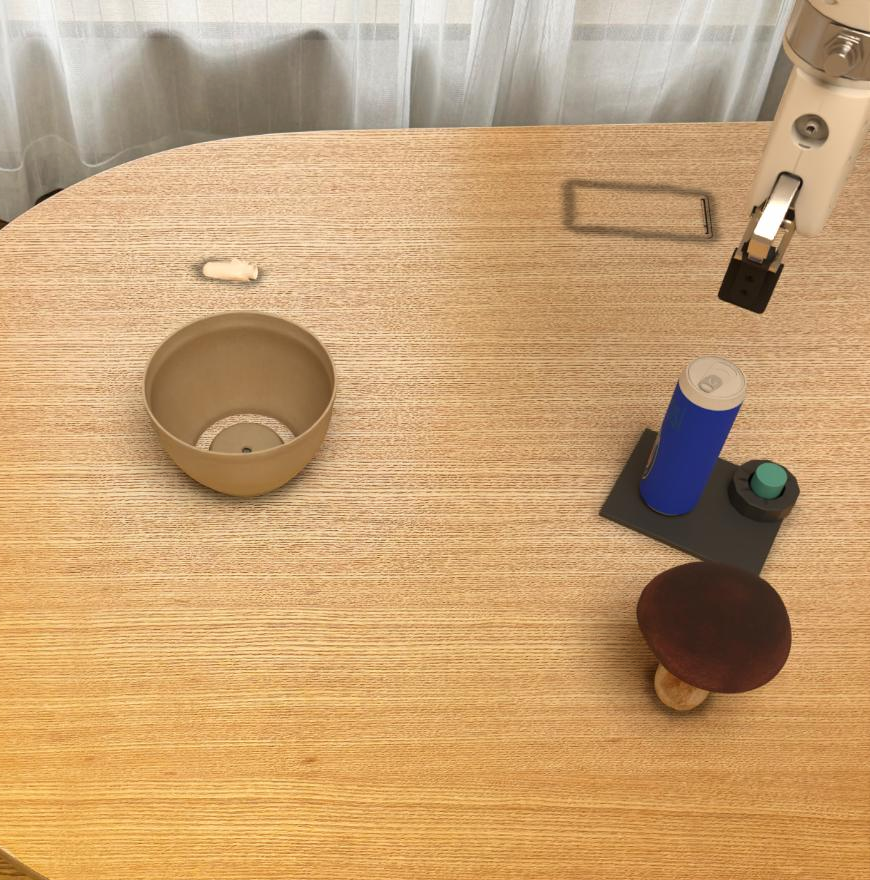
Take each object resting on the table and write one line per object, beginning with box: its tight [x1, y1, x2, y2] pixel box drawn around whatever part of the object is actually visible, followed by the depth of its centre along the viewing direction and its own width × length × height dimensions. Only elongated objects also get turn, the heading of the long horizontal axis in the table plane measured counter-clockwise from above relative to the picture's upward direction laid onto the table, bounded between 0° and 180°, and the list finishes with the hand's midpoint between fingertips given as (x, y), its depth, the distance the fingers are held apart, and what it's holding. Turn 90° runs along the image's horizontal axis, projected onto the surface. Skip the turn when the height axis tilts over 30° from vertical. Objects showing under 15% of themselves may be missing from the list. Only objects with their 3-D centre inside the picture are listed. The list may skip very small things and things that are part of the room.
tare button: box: [750, 463, 787, 499], centre depth 100 cm, size 3×3×2 cm
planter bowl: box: [141, 309, 338, 498], centre depth 101 cm, size 16×16×11 cm
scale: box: [598, 427, 801, 577], centre depth 102 cm, size 14×11×4 cm
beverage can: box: [640, 354, 748, 515], centre depth 96 cm, size 5×5×15 cm
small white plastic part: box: [202, 257, 259, 282], centre depth 118 cm, size 4×6×3 cm, turn 54°
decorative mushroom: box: [635, 560, 793, 711], centre depth 86 cm, size 11×11×15 cm
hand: (763, 261), depth 80 cm, fingers open, 9 cm apart
